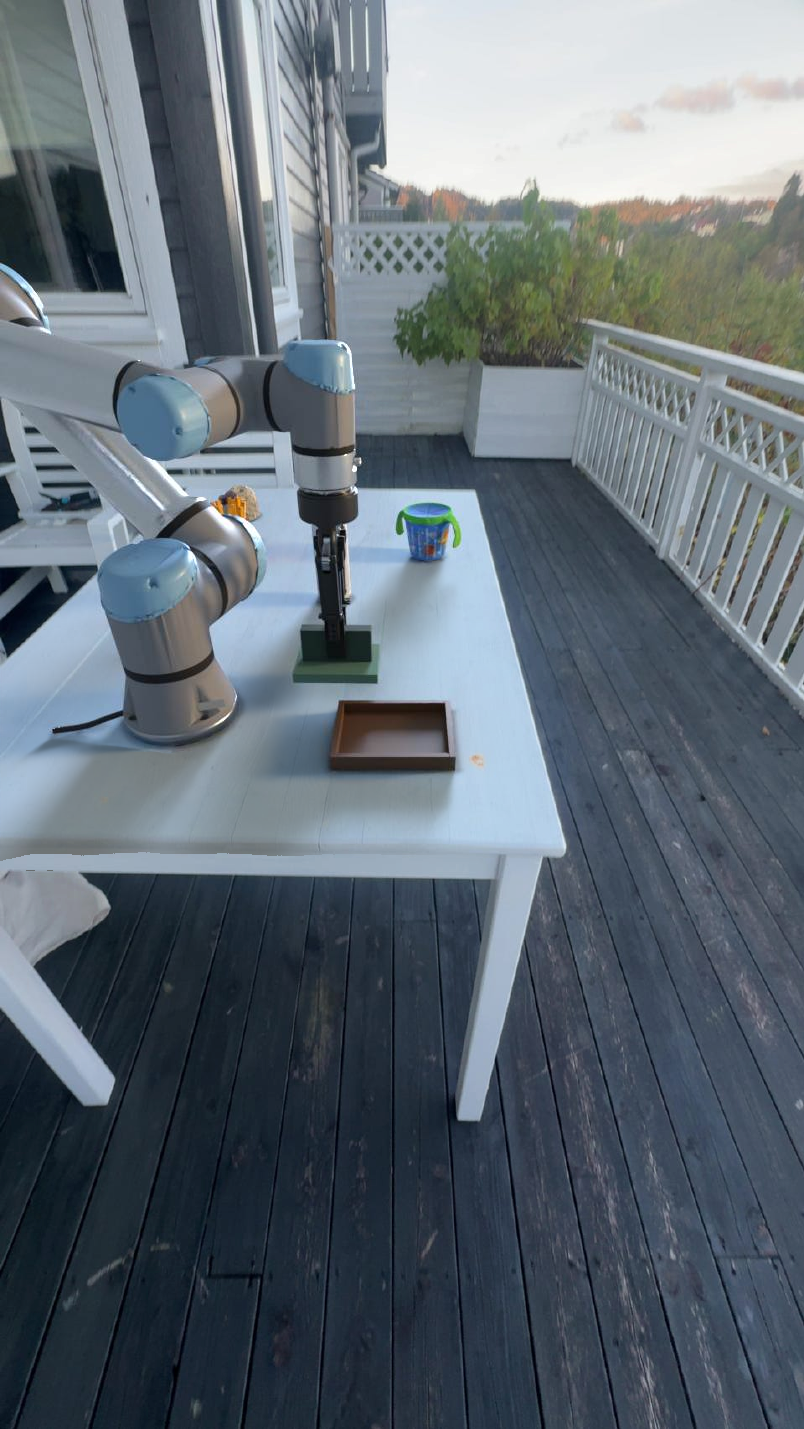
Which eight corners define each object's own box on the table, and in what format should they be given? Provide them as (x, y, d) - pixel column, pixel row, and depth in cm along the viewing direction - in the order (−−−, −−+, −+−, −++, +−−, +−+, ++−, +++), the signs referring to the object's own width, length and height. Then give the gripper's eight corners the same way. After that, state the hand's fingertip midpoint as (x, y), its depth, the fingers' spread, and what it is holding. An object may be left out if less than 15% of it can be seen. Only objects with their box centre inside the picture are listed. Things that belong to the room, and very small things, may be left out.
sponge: (261, 533, 162) (272, 495, 161) (236, 520, 153) (248, 480, 152) (235, 527, 166) (246, 490, 165) (209, 514, 157) (220, 475, 156)
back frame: (330, 770, 78) (329, 757, 77) (339, 712, 89) (338, 700, 87) (455, 770, 78) (455, 756, 77) (449, 712, 88) (450, 699, 87)
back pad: (293, 683, 89) (288, 642, 85) (302, 651, 96) (298, 612, 92) (377, 683, 88) (376, 643, 85) (380, 652, 96) (379, 613, 92)
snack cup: (384, 554, 138) (383, 507, 132) (416, 541, 145) (416, 496, 139) (439, 572, 130) (440, 523, 124) (470, 557, 136) (472, 510, 130)
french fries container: (255, 559, 136) (245, 494, 128) (256, 575, 129) (246, 507, 121) (221, 562, 135) (209, 496, 127) (221, 579, 128) (208, 510, 120)
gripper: (352, 505, 71) (360, 680, 85) (361, 470, 83) (366, 628, 97) (286, 504, 71) (304, 679, 85) (304, 470, 83) (317, 627, 97)
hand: (337, 652), depth 91 cm, fingers closed on back pad, 2 cm apart
